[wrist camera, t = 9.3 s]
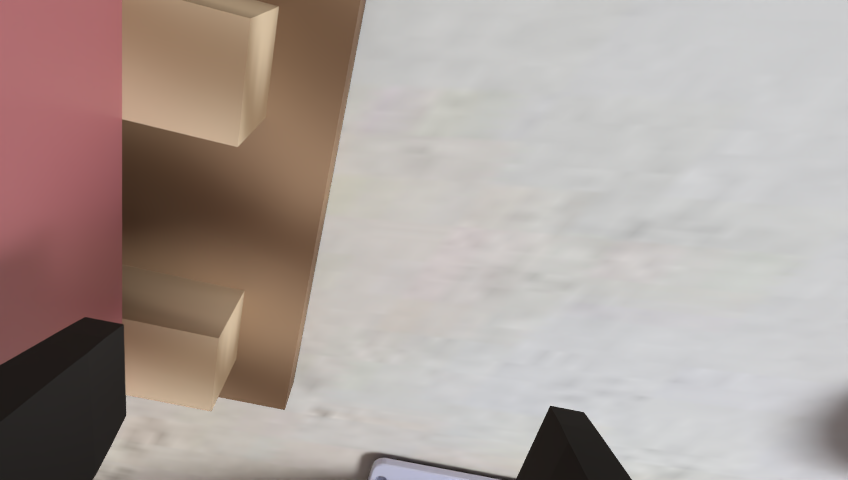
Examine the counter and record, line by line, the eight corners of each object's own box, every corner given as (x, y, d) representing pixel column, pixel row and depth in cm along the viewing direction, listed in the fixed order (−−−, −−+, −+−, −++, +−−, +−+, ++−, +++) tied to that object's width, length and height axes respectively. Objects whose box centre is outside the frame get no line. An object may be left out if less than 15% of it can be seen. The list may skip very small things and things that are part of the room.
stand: (293, 382, 22) (267, 464, 19) (-79, 307, 21) (-183, 382, 17) (376, -58, 15) (359, -57, 11) (-191, -221, 13) (-414, -278, 10)
